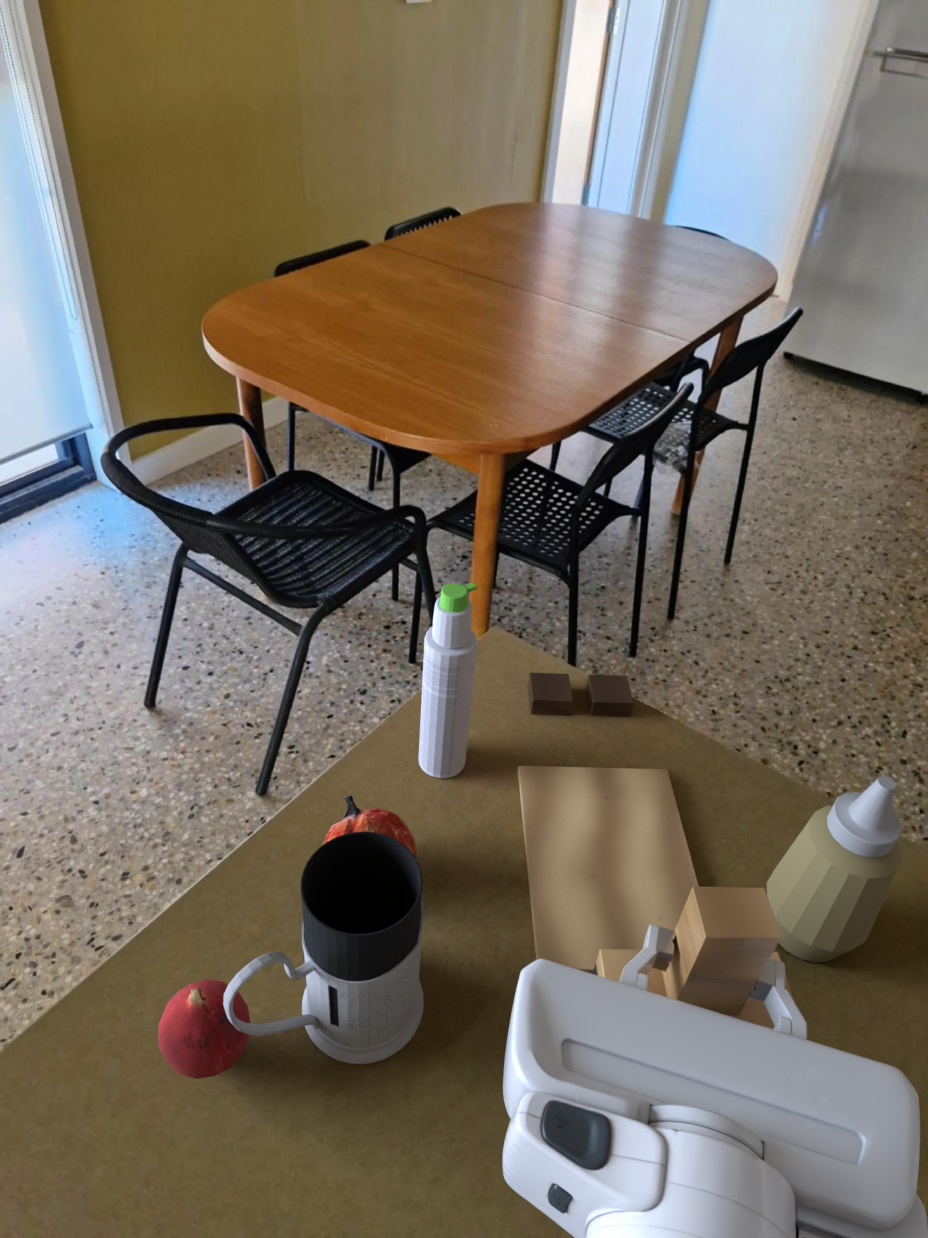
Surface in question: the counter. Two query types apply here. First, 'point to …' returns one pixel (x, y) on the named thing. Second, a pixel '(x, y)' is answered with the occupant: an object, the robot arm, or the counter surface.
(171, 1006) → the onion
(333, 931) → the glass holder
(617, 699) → the dark brown square block
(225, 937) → the counter surface
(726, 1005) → the brush
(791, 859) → the squeeze bottle
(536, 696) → the chip
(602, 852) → the board
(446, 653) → the bottle
